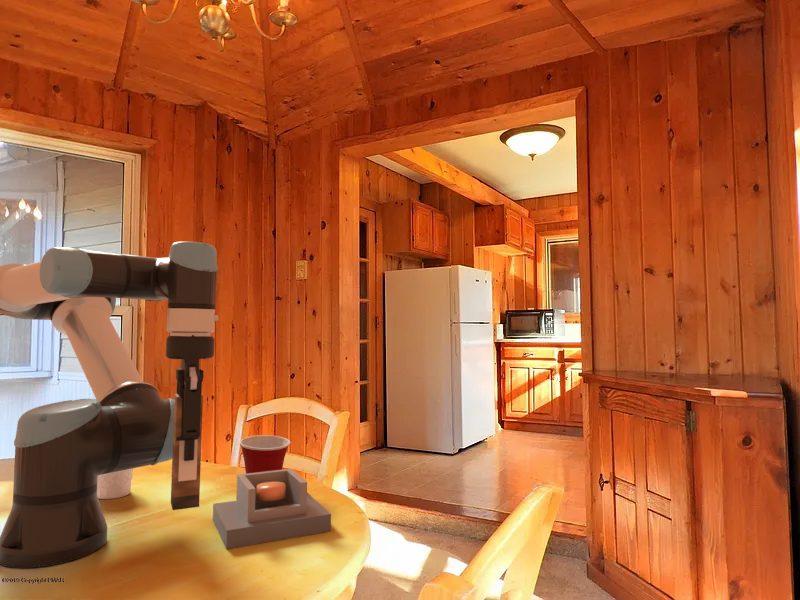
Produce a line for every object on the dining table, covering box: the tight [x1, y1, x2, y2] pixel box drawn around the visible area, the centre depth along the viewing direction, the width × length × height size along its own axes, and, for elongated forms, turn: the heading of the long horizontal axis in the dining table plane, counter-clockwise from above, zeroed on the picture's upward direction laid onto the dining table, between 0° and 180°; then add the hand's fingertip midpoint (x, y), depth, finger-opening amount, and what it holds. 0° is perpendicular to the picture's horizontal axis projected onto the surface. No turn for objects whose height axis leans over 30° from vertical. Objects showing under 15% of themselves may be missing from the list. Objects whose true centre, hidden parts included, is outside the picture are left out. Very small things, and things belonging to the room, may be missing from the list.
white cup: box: [97, 468, 134, 500], centre depth 116 cm, size 8×8×10 cm
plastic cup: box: [239, 434, 291, 474], centre depth 116 cm, size 11×11×12 cm
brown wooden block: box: [170, 393, 204, 511], centre depth 89 cm, size 4×4×18 cm
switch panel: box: [212, 468, 332, 550], centre depth 99 cm, size 18×15×8 cm
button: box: [256, 482, 286, 501], centre depth 99 cm, size 5×5×2 cm
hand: (185, 475), depth 89 cm, fingers closed on brown wooden block, 4 cm apart
